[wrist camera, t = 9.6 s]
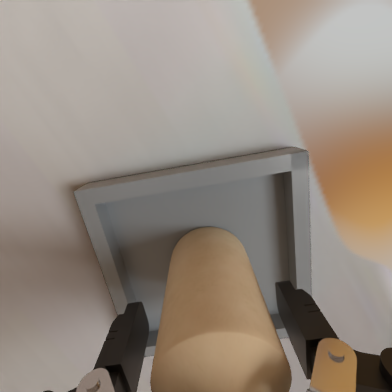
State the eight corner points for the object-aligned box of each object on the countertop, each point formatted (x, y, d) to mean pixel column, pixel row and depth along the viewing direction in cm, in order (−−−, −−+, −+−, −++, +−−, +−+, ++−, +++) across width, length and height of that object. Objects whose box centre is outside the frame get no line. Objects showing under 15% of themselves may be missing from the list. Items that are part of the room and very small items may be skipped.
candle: (183, 216, 16) (167, 357, 7) (257, 237, 17) (340, 395, 7) (162, 279, 18) (125, 465, 8) (230, 297, 18) (269, 490, 9)
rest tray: (294, 146, 15) (308, 150, 13) (301, 313, 20) (312, 334, 18) (87, 183, 16) (73, 191, 14) (139, 335, 20) (133, 358, 18)
